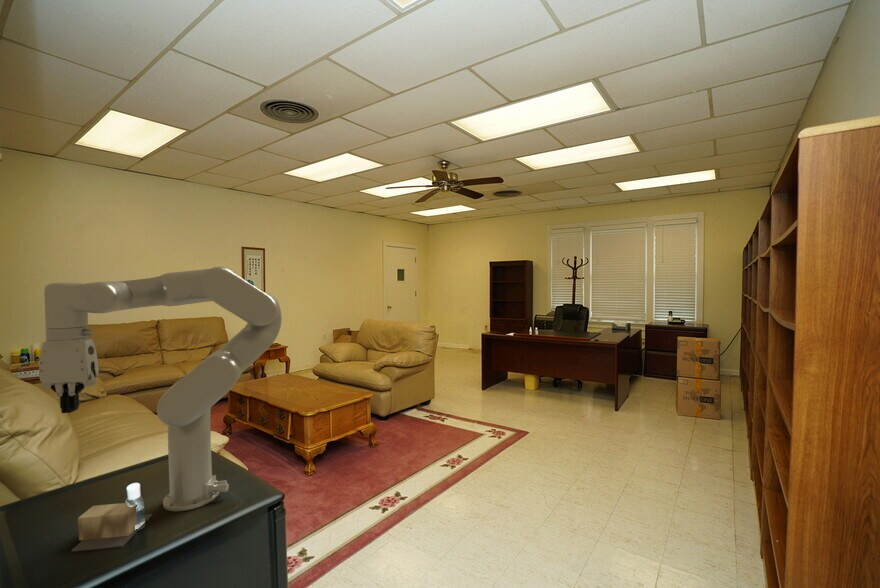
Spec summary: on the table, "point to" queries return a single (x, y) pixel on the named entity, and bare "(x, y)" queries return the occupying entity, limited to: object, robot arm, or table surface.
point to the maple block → (107, 521)
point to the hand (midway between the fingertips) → (70, 411)
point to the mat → (105, 541)
